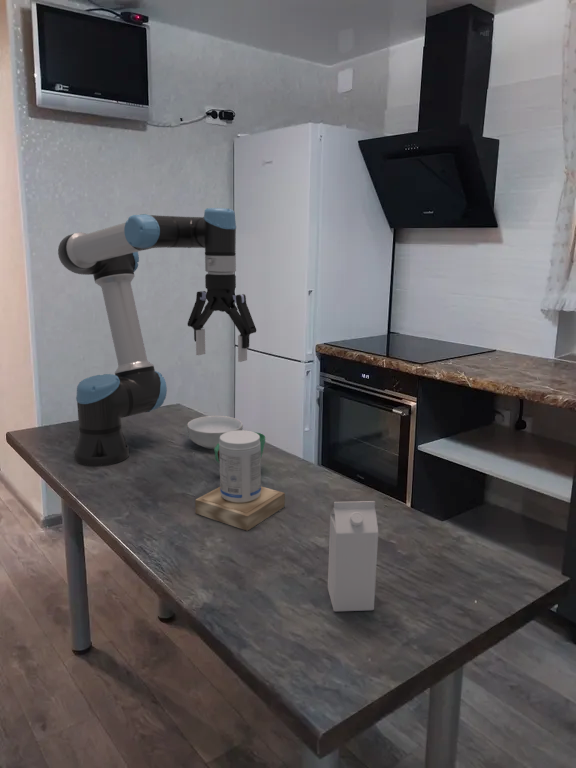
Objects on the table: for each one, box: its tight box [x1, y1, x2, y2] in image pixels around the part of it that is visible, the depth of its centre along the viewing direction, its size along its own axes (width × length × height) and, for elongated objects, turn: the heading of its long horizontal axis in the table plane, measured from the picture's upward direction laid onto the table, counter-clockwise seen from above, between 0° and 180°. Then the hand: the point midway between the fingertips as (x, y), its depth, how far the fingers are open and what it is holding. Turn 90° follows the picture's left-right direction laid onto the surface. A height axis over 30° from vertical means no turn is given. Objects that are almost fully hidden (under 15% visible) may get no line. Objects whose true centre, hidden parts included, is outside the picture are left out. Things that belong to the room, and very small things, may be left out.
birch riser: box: [194, 485, 286, 532], centre depth 142 cm, size 15×15×4 cm
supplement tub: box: [219, 429, 262, 503], centre depth 140 cm, size 10×10×15 cm
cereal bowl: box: [186, 415, 244, 450], centre depth 185 cm, size 17×17×7 cm
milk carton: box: [327, 500, 379, 612], centre depth 105 cm, size 7×7×19 cm
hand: (221, 357), depth 153 cm, fingers open, 13 cm apart
